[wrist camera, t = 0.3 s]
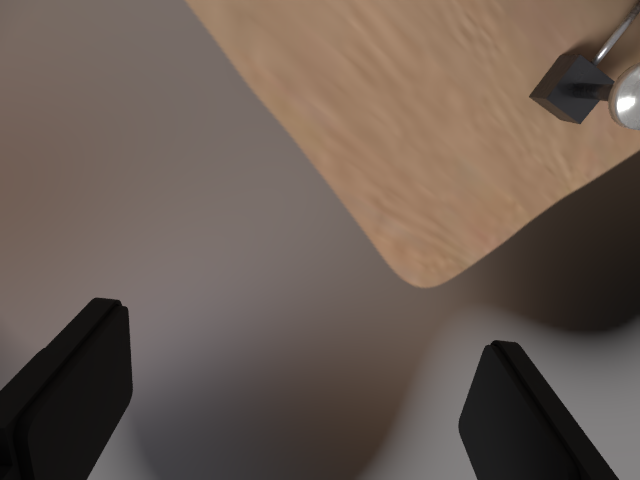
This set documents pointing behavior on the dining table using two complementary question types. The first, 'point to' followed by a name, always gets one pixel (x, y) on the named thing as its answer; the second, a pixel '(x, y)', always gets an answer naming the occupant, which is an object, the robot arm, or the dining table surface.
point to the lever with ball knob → (591, 86)
